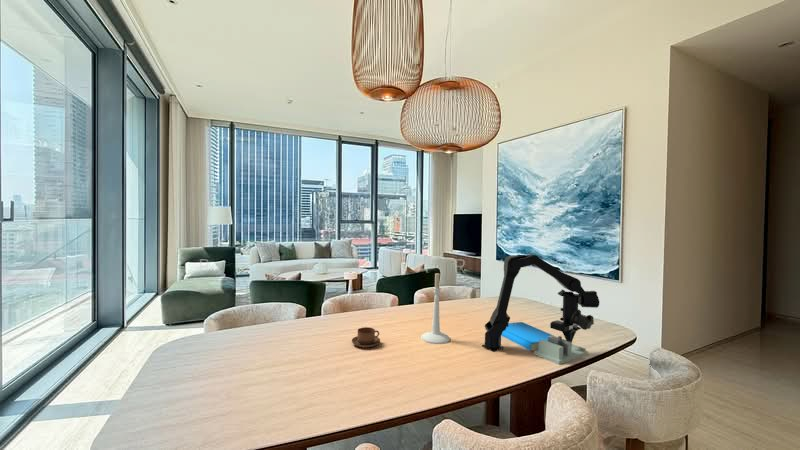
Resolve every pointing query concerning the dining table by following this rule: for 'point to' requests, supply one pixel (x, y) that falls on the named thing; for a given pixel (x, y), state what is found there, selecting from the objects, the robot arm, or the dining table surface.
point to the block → (555, 340)
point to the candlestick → (436, 320)
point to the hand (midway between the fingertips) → (569, 343)
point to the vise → (558, 352)
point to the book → (525, 335)
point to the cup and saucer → (366, 337)
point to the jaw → (565, 346)
